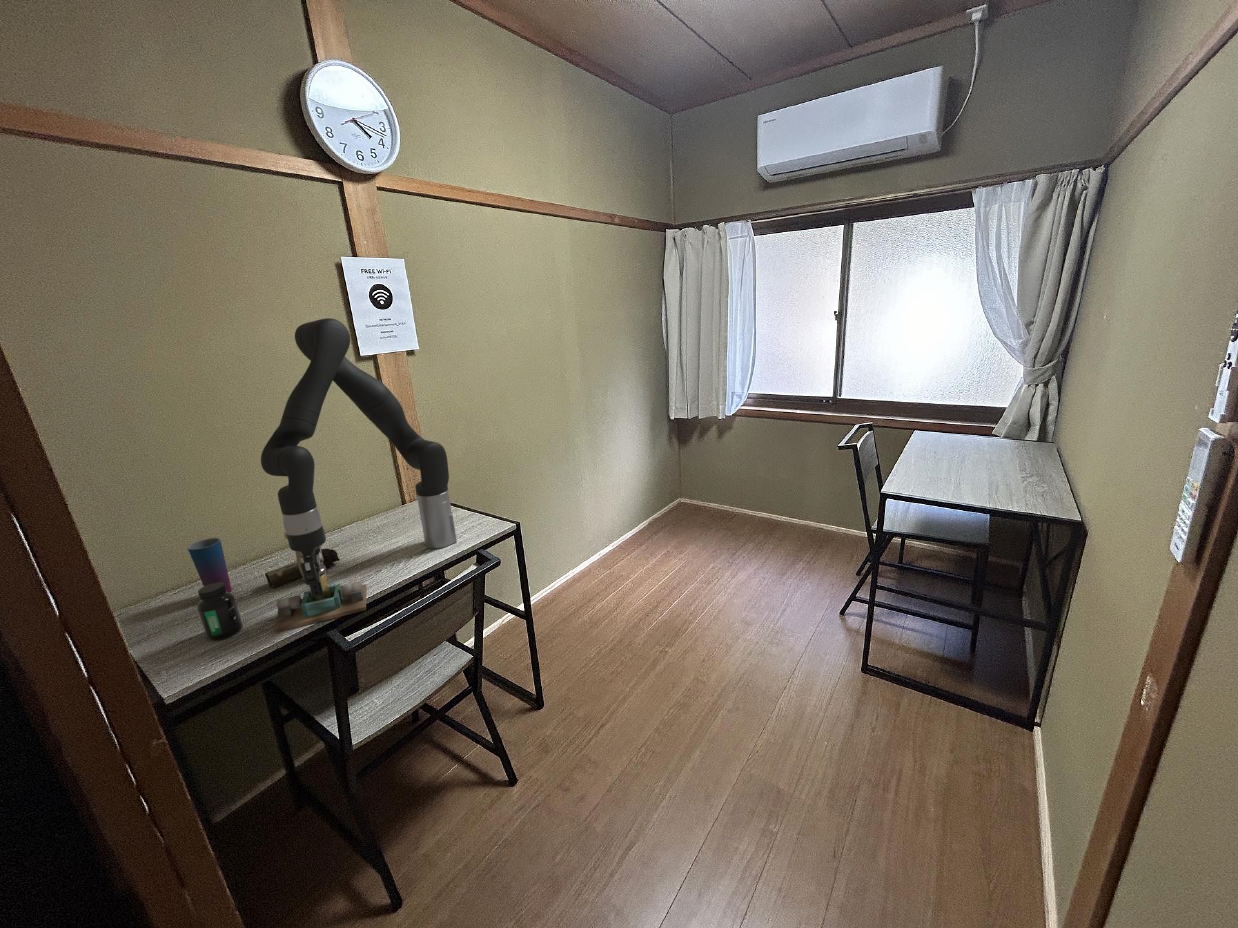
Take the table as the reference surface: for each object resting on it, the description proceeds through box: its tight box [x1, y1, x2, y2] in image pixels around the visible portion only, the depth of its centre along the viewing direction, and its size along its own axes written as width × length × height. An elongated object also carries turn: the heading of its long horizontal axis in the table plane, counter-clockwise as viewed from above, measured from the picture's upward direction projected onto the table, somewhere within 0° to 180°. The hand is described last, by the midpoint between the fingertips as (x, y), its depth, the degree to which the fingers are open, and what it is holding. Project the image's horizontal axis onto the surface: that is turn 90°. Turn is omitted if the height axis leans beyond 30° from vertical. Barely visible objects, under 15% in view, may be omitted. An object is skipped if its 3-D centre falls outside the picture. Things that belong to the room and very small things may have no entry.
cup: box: [187, 537, 232, 593], centre depth 133 cm, size 7×7×15 cm
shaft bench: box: [274, 580, 368, 633], centre depth 125 cm, size 19×12×5 cm, turn 115°
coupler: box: [308, 564, 332, 602], centre depth 124 cm, size 5×5×10 cm
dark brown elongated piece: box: [265, 548, 341, 589], centre depth 143 cm, size 18×7×6 cm, turn 137°
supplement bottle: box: [196, 582, 244, 642], centre depth 116 cm, size 7×7×12 cm
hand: (319, 588), depth 124 cm, fingers open, 6 cm apart
